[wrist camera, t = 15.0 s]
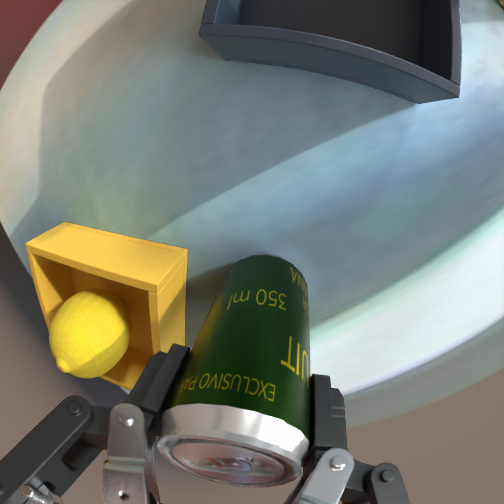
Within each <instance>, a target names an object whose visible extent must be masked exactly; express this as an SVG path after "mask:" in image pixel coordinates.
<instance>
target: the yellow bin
mask: <svg viewBox="0 0 504 504" xmlns="http://www.w3.org/2000/svg"><path fill="white" fill-rule="evenodd" d="M26 249H27V254H28V259H29V263H30V268H31V272H32V276H33V280H34V284H35V288H36V291H37V295H38V299H39V302H40V305H41V308H42V312H43V315H44V318H45V321H46V324H47V327H48V330H50V326H51V323H52V321H53V319H54V317H55V315H56V313H57V312H58V310H59V309H60V307H61V306H62V305H63V303H64V302H65V301H66V300H68V299H69V298H70V297H72V296H73V295H75V294H77V293H78V292H80V291H83V290H86V289H93V288H97V289H103V290H106V291H108V292H111V293H113V294H114V295H116V296H117V297H118V298H119V299H120V300H121V301H122V302H123V303H124V305H125V306H126V308H127V310H128V312H129V315H130V318H131V323H132V334H131V338H130V342H129V345H128V348H127V350H126V352H125V353H124V355H123V356H122V358H121V359H120V360H119V361H118V362H117V363H116V364H115V366H113V367H112V368H111V369H110V370H109V371H107V372H106V373H104V374H102V375H100V376H99V377H101V378H103V379H105V380H107V381H110V382H112V383H114V384H117V385H119V386H121V387H124V388H126V389H129V390H132V389H133V387H134V385H135V383H136V382H137V380H138V378H139V376H140V375H141V374H142V371H143V370H144V368H145V367H146V365H147V363H148V361H149V359H150V358H151V357H152V356H153V355H155V354H156V353H157V352H159V351H162V352H165V353H168V351H169V349H170V347H171V345H172V344H173V343H176V344H179V345H182V346H185V302H186V274H187V254H188V249H184V248H180V247H175V246H171V245H166V244H161V243H157V242H152V241H148V240H143V239H139V238H134V237H130V236H125V235H121V234H116V233H112V232H107V231H103V230H98V229H94V228H89V227H85V226H81V225H76V224H72V223H68V222H63V223H62V224H60V225H58V226H56V227H54V228H52V229H50V230H48V231H47V232H45V233H43V234H41V235H39V236H38V237H36V238H34V239H32V240H31V241H29V242H27V243H26Z"/></svg>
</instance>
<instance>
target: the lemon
mask: <svg viewBox="0 0 504 504" xmlns="http://www.w3.org/2000/svg"><path fill="white" fill-rule="evenodd" d="M131 334H132V323H131V318H130V315H129V312H128V310H127V308H126V306H125V305H124V303H123V302H122V301H121V300H120V299H119V298H118V297H117V296H116V295H114V294H113V293H111V292H108V291H106V290H103V289H97V288H93V289H86V290H83V291H80V292H78V293H77V294H75V295H73V296H72V297H70V298H69V299H68V300H66V301H65V302H64V303H63V305H62V306H61V307H60V309H59V310H58V312H57V313H56V315H55V317H54V319H53V321H52V323H51V326H50V330H49V343H50V348H51V351H52V354H53V356H54V358H55V360H56V362H57V367H58V368H59V369H60V370H61V371H62V372H68V373H70V374H72V375H74V376H77V377H81V378H82V377H83V378H94V377H97V376H100V375H102V374H104V373H106V372H107V371H109V370H110V369H111V368H112V367H113V366H115V364H116V363H117V362H118V361H119V360H120V359H121V358H122V356H123V355H124V353H125V352H126V350H127V348H128V345H129V342H130V338H131Z"/></svg>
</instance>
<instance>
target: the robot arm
mask: <svg viewBox="0 0 504 504" xmlns="http://www.w3.org/2000/svg"><path fill="white" fill-rule="evenodd" d="M189 354H190V348H189V347H186V346H182V345H179V344H176V343H173V344H172V345H171V347H170V349H169V351H168V353H165V352H162V351H159V352H157V353H156V354H155V355H153V356H152V357H151V358H150V359H149V361H148V363H147V365H146V367H145V368H144V370H143V371H142V374H141V375H140V376H139V378H138V380H137V382H136V383H135V385H134V387H133V389H132V390H131V392H130V394H129V396H128V398H127V399H126V400H125V402H124V403H122V404H119V405H117V406H115V407H114V408H104V407H97V406H91V405H90V404H89V403H88V401H87V400H86V399H84V398H83V397H81V396H69V397H67V398H66V399H64V400H63V401H62V402H61V403H60V404H59V405H58V406H57V407H56V408H55V409H54V410H53V411H52V412H50V413H49V414H48V415H47V416H46V417H45V418H44V419H43V420H42V421H41V422H40V423H39V424H38V425H37V426H36V427H35V428H34V429H33V430H32V431H30V432H29V433H28V434H27V435H26V436H25V437H24V438H23V439H22V440H21V441H20V442H19V443H18V444H17V445H16V446H15V447H14V448H13V449H12V450H11V451H10V452H9V453H8V454H7V455H6V456H5V457H4V458H3V459H2V460H1V461H0V504H63V501H62V499H61V498H60V497H61V496H62V495H63V494H64V493H65V492H66V491H67V490H68V488H69V487H70V486H71V485H72V484H73V483H74V481H76V479H77V478H78V477H79V476H80V475H81V474H82V473H83V472H84V470H85V469H86V468H87V467H88V466H89V465H90V464H91V462H92V461H93V460H94V459H95V458H96V457H97V456H98V455H99V453H100V452H101V451H102V450H103V449H105V450H108V453H107V460H106V461H105V462H104V464H103V504H162V503H160V497H159V491H158V487H157V482H156V474H155V463H154V450H153V443H154V441H155V439H156V436H161V435H162V432H161V424H160V418H161V416H162V414H163V412H164V409H165V407H166V405H167V403H168V400H169V398H170V396H171V394H172V391H173V389H174V387H175V385H176V383H177V380H178V378H179V376H180V374H181V372H182V369H183V367H184V365H185V363H186V361H187V358H188V356H189ZM301 467H303V475H301V477H300V479H299V480H298V482H297V483H296V485H295V487H294V488H293V490H292V491H291V493H290V495H289V496H288V498H287V499H286V501H285V502H284V504H337V503H338V501H339V500H340V501H342V502H343V504H410V501H409V498H408V495H407V492H406V489H405V486H404V482H403V480H402V477H401V474H400V471H399V469H398V468H397V467H396V466H395V465H393V464H391V463H381V464H379V465H377V466H372V465H369V464H365V463H362V462H359V461H357V460H355V459H354V458H353V457H352V456H351V454H350V453H349V451H348V448H347V437H346V421H345V410H344V398H343V396H342V394H341V393H340V391H339V389H337V388H331V381H330V376H326V375H318V374H312V376H311V377H310V434H309V451H308V453H307V454H306V456H305V457H304V459H303V460H302V462H301ZM124 500H125V501H124Z"/></svg>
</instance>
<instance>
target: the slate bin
mask: <svg viewBox="0 0 504 504" xmlns="http://www.w3.org/2000/svg"><path fill="white" fill-rule="evenodd" d="M201 24H202V25H201V27H200V31H199V36H200V37H201V38H202V39H203V40H204V41H205V42H206V43H207V44H209V45H210V46H211V47H212V48H213V49H214V50H215V51H216V52H217V53H218V54H219V55H220V56H221V57H222V58H223V59H224V60H226V61H241V62H252V63H261V64H269V65H277V66H283V67H290V68H296V69H301V70H306V71H312V72H316V73H321V74H325V75H330V76H334V77H338V78H342V79H346V80H349V81H353V82H357V83H360V84H363V85H367V86H370V87H373V88H376V89H379V90H382V91H385V92H388V93H391V94H394V95H397V96H399V97H402V98H405V99H407V100H410V101H412V102H415V103H417V104H422V103H428V102H434V101H440V100H446V99H453V98H459V95H460V83H461V62H462V37H461V17H460V6H459V0H207V2H206V6H205V10H204V14H203V18H202V22H201Z"/></svg>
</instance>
